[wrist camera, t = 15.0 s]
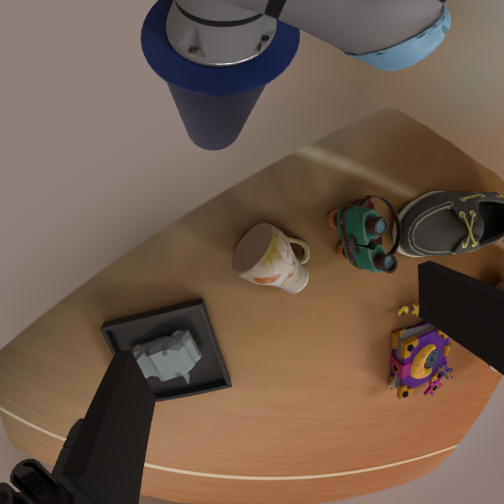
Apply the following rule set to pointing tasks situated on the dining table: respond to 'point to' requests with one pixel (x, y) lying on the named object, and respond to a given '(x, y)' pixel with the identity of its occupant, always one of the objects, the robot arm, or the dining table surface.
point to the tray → (164, 324)
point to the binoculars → (365, 235)
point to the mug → (270, 259)
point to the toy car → (168, 356)
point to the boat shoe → (450, 223)
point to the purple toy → (418, 357)
